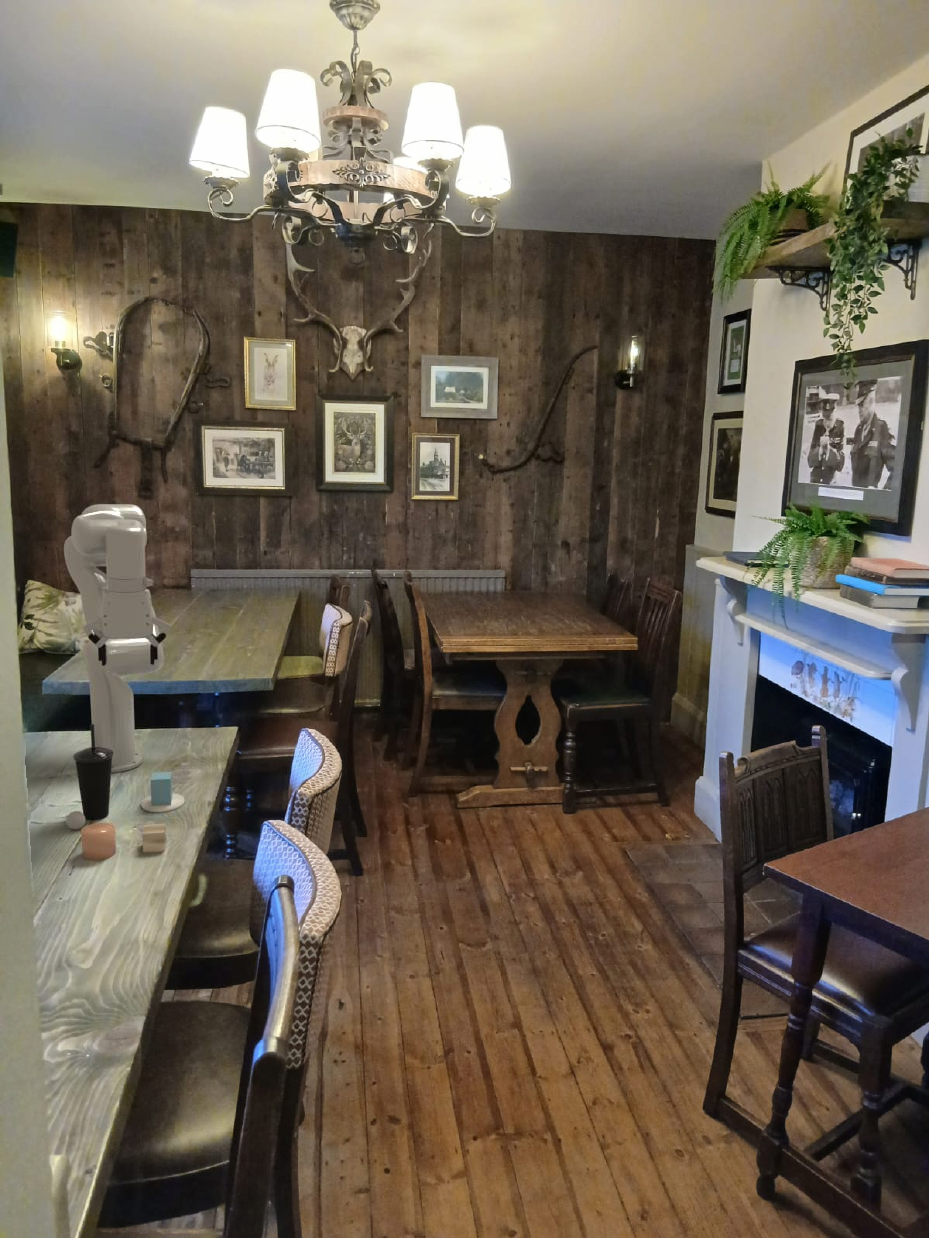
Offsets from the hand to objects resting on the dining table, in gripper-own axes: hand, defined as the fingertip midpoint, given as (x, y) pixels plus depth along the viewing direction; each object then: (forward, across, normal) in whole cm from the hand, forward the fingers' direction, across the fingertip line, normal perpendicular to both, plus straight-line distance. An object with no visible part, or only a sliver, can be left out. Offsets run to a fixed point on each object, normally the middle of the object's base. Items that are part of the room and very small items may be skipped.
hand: (128, 663), depth 187 cm
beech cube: (+30, -6, +26) cm, 40 cm away
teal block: (+30, -6, +5) cm, 31 cm away
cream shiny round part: (+31, -7, +5) cm, 32 cm away
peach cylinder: (+30, +4, +26) cm, 40 cm away
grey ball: (+31, +10, +14) cm, 35 cm away
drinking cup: (+31, +7, +8) cm, 33 cm away
